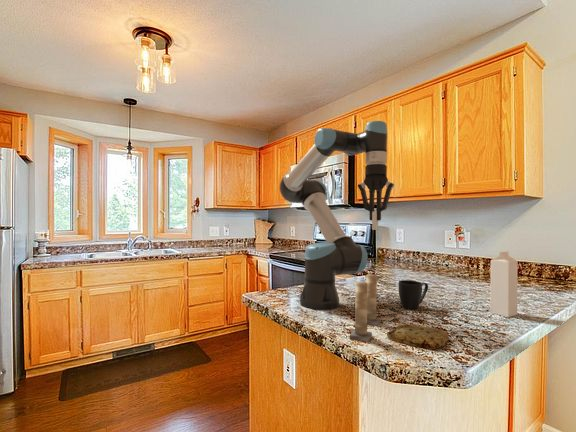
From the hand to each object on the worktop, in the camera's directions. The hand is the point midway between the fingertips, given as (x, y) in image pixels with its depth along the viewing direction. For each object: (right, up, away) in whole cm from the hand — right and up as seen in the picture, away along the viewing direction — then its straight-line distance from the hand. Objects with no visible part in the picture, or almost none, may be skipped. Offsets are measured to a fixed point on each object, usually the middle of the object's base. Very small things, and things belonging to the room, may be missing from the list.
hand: (375, 229), depth 112 cm
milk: (+45, -30, -3) cm, 54 cm away
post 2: (-5, -29, -14) cm, 33 cm away
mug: (+16, -30, +4) cm, 34 cm away
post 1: (-11, -29, -27) cm, 41 cm away
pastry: (+4, -30, -26) cm, 40 cm away
